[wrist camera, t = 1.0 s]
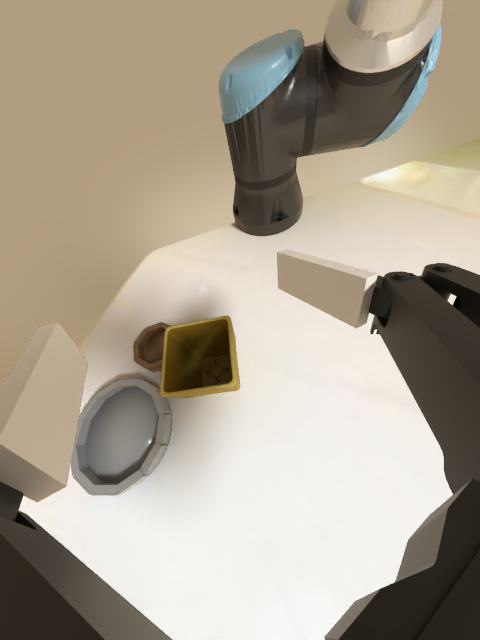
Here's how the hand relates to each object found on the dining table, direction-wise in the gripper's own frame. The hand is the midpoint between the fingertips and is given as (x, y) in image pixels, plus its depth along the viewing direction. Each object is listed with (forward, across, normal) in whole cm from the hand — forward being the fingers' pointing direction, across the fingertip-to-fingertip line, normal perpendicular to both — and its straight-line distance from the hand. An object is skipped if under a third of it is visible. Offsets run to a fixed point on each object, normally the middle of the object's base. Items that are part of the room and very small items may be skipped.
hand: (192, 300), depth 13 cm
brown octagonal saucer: (+20, -4, -16) cm, 26 cm away
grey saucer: (+12, -13, -22) cm, 28 cm away
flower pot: (+11, +2, -18) cm, 22 cm away
